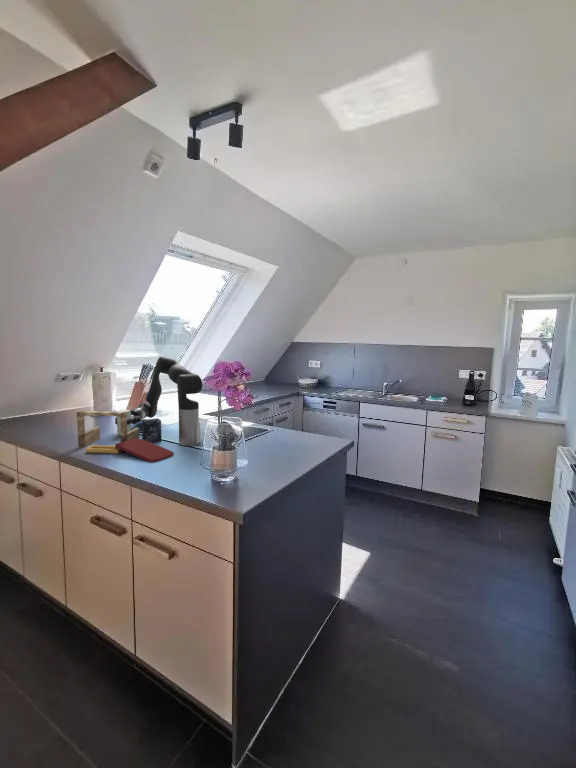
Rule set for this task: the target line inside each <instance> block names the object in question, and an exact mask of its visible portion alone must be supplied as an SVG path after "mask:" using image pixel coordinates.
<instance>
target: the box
mask: <svg viewBox="0 0 576 768" xmlns="http://www.w3.org/2000/svg"><path fill="white" fill-rule="evenodd" d="M141 432H142V433H141V434H142V435H141V436H142V438H141V439H143V440H145V441H148V442H150V443H156V442H157V443H158V442H162V420H161V419H160V418H150V419H143V420H142V421H141Z"/></svg>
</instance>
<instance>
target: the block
mask: <svg viewBox="0 0 576 768" xmlns="http://www.w3.org/2000/svg"><path fill="white" fill-rule="evenodd" d="M131 410H132V409H119V410H118V411H116V412H127V420H129V419H130V418H131ZM116 417H117V424H116V434H117V436H121V419H120V416H116ZM131 430H132V424H131V423H130V424H129V425H127V432H129V431H131Z"/></svg>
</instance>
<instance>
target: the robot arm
mask: <svg viewBox="0 0 576 768" xmlns="http://www.w3.org/2000/svg"><path fill="white" fill-rule="evenodd" d="M160 374H164V375H168V378H169V379H170V381H172V383H175V384H176V387H177V403H178V445H180V446H181V447H182V446H184V447H192V446H198V445H199V444H200V443H201V423H200V421H199V420H200V418H199V416H200V413H199V412H200V411H199V408H200V407H199V406H200V405H199V402H198V401H196V400H194V399H190V398H188V396H187V395H194V394H199V393H200V392H201V391H202V390H203V385H204V384H203V380H202V378H201V377H200V375H199V374H197V373H194V372H191V371H190V370H188V369H186V367H184V366H182V364H180V363H179V362H178V361H177V360H176V359H174V358H170V357H166V356H159V357H158V359H157V360H156V363H155V367H154V371H153V374H152V378H151V383H150V386H149V390H148V392H147V394H146V396H145V401H143V402H141V403H140V404H139V405H138V407H135V408H134V409H130V410H131V418H130V419H129V420H127V425H129V424H130V423H131V425H136V424H139V423H142V420H145V418H150V419H153V418H154V417H155V416H156V415H157V412H158V404H159V400H160V398H161V395H162V392H163V391H162V390H163V389H162V384H161V380H160ZM114 424H115V425H117V416H115V419H114Z"/></svg>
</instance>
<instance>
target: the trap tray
mask: <svg viewBox="0 0 576 768" xmlns="http://www.w3.org/2000/svg"><path fill="white" fill-rule="evenodd" d="M120 453H121V449H119V448H117V449H115V445H97V444H96V445H90V446H88V447H87V448H85V454H108V455H109V454H110V455H111V454H113V455H115V454H117V455H118V454H120Z"/></svg>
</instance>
